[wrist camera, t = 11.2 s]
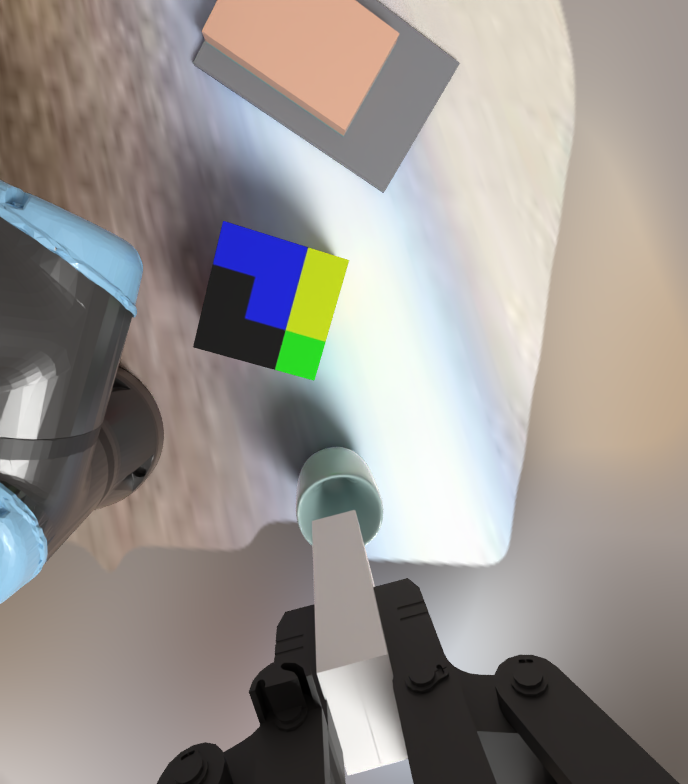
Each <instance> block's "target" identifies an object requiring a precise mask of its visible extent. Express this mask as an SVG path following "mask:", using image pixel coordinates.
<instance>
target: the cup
mask: <svg viewBox="0 0 688 784" xmlns="http://www.w3.org/2000/svg"><path fill="white" fill-rule="evenodd" d="M352 510H355V511H356V515H357V519H358V523H359V527H360V531H361V534H362V538H363V542H364V546H365V545H366V544H367V543H369V542H370V541H371V540H372V539H373V538H374V537H375V536H376V535H377V533H378V531H379V529H380V527H381V524H382V520H383V505H382V500H381V496H380V493H379V490H378V487H377V484H376V482H375V479H374V477H373V474H372V472H371V471H370V469H369V467H368V465H367V463H366V462H365V461H364V460H363V459H362V457H361V456H360V455H358V454H357V453H356V452H355V451H353V450H351V449H348V448H344V447H329V448H325V449H322V450H320V451H318V452H316V453H314V454H313V455H311V456H310V457H309V458H308V459H307V460H306V462H305V463H304V465H303V467H302V469H301V471H300V474H299V478H298V483H297V492H296V516H297V522H298V525H299V528H300V530H301V532H302V534H303V536H304V538H305V539H306V540H307V541H308V542H309V543H310V544H311V545H312V546H313V541H312V521H314V520H318V519H322V518H325V517H329V516H333V515H337V514H341V513H345V512H348V511H352Z"/></svg>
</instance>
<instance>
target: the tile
mask: <svg viewBox="0 0 688 784" xmlns="http://www.w3.org/2000/svg"><path fill="white" fill-rule="evenodd" d="M202 33H203V36H204V38H205V41H206V43H207V44H209V45H210V46H212V47H213V48H215V49H216V50H218V51H219V52H220V53H222V54H223V55H225V56H226V57H228V58H229V59H231V60H232V61H234V62H235V63H236V64H238V65H239V66H241V67H242V68H244V69H245V70H247V71H248V72H250V73H251V74H252V75H254V76H255V77H257V78H258V79H260V80H261V81H263V82H264V83H266V84H267V85H268V86H270V87H271V88H273V89H274V90H276V91H277V92H279V93H280V94H282V95H283V96H284V97H286V98H287V99H289V100H290V101H292V102H293V103H295V104H296V105H298V106H299V107H300V108H302V109H303V110H305V111H306V112H308V113H309V114H311V115H312V116H314V117H315V118H316V119H318V120H319V121H321V122H322V123H324V124H325V125H327V126H328V127H330V128H331V129H332V130H334V131H335V132H337V133H338V134H340V135H341V136H343V137H344V135H345V133H346V131H347V130H348V128H349V126H350V124H351V123H352V121H353V119H354V117H355V115H356V114H357V112H358V110H359V108H360V107H361V105H362V103H363V101H364V100H365V98H366V96H367V94H368V92H369V91H370V89H371V87H372V85H373V84H374V82H375V80H376V78H377V76H378V75H379V73H380V71H381V69H382V68H383V66H384V64H385V62H386V60H387V59H388V57H389V55H390V53H391V52H392V50H393V48H394V46H395V44H396V42H397V39H398V36H399V34H400V33H398V32H397V31H396V30H394V29H393V28H392V27H390V26H389V25H388V24H386V23H385V22H384V21H382V20H381V19H380V18H378V17H377V16H376V15H374V14H373V13H372V12H370V11H369V10H368V9H366V8H365V7H364V6H362V5H361V4H360V3H358V2H357V1H356V0H217V2H216V4H215V6H214V8H213V10H212V12H211V14H210V16H209V18H208V20H207V22H206V24H205V26H204V28H203V30H202Z"/></svg>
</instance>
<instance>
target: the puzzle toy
mask: <svg viewBox="0 0 688 784" xmlns="http://www.w3.org/2000/svg"><path fill="white" fill-rule="evenodd" d="M348 262H349V260H347V259H344V258H341V257H337V256H334V255H331V254H328V253H325V252H321V251H318V250H315V249H312V248H309V247H305V246H302V245H299V244H296V243H293V242H289V241H286V240H283V239H280V238H277V237H273V236H270V235H267V234H264V233H261V232H258V231H254V230H251V229H248V228H245V227H242V226H238V225H235V224H232V223H229V222H226V221H223V223H222V228H221V232H220V236H219V240H218V244H217V249H216V253H215V257H214V261H213V265H212V270H211V274H210V278H209V282H208V287H207V291H206V295H205V299H204V303H203V308H202V312H201V316H200V320H199V325H198V329H197V333H196V337H195V341H194V346H193V347H194V348H198V349H201V350H205V351H209V352H212V353H216V354H220V355H223V356H227V357H231V358H234V359H238V360H241V361H245V362H249V363H252V364H256V365H260V366H263V367H267V368H270V369H274V370H278V371H281V372H285V373H289V374H292V375H296V376H299V377H303V378H307V379H310V380H315V376H316V373H317V370H318V366H319V363H320V359H321V356H322V352H323V349H324V345H325V342H326V338H327V335H328V332H329V328H330V325H331V321H332V318H333V314H334V311H335V307H336V304H337V300H338V297H339V293H340V290H341V287H342V283H343V280H344V276H345V273H346V269H347V266H348Z"/></svg>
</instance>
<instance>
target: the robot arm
mask: <svg viewBox="0 0 688 784" xmlns="http://www.w3.org/2000/svg"><path fill="white" fill-rule="evenodd" d="M142 273H143V265H142V261H141V258H140V256H139V254H138V252H137V251H136V249H135V248H134V247H133V246H132V245H131V244H130V243H128V242H127V241H125V240H124V239H122V238H120V237H118V236H117V235H115V234H113V233H111V232H109V231H107V230H105V229H103V228H101V227H99V226H97V225H95V224H93V223H91V222H89V221H87V220H85V219H83V218H81V217H79V216H77V215H75V214H73V213H71V212H69V211H67V210H65V209H63V208H60V207H58V206H56V205H54V204H52V203H50V202H48V201H45V200H43V199H41V198H39V197H37V196H34V195H32V194H29V193H26V192H24V191H22V190H21V189H19V188H17V187H14V186H12V185H10V184H8V183H5V182H3V181H2V180H0V603H2V602H4V601H5V600H6V599H8V598H9V597H10V596H11V595H12V594H14V593H15V592H16V591H17V590H18V589H20V588H21V587H22V586H23V585H25V584H26V583H28V582H29V581H30V580H31V579H33V578H34V577H35V576H36V575H37V574H38V573H39V572H40V571H41V569H42V566H43V565H44V564H45V563H46V562H47V561H48V559H49V558H50V557H51V556H52V555H53V554H54V553H55V552H56V551H57V550H58V549H59V547H60V546H61V545H62V544H63V543H64V542H65V541H66V540H67V539H68V538H69V536H70V535H71V534H72V533H73V532H74V531H75V530H76V529H77V528H78V527H79V525H80V524H81V523H82V522H83V521H84V520H85V519H86V518H87V517H88V516H89V514H90V513H91V512H92V511H93V510H96V509H100V508H103V507H106V506H109V505H112V504H114V503H117V502H119V501H121V500H123V499H124V498H126V497H127V496H129V495H130V494H132V493H133V492H134V491H136V490H137V489H138V488H139V487H140V486H141V485H142V484H143V482H144V481H145V480H146V479H147V478H148V476H149V475H150V474H151V473H152V471H153V470H154V468H155V466H156V465H157V463H158V460H159V458H160V455H161V452H162V448H163V441H164V429H163V422H162V418H161V415H160V412H159V409H158V407H157V405H156V402H155V401H154V399H153V397H152V396H151V394H150V393H149V391H148V390H147V389H146V388H145V387H144V386H143V384H142V383H141V382H140V381H139V380H137V379H136V378H135V377H134V376H133V375H131V374H130V373H128V372H127V371H125V370H124V369H122V368H120V367H118V366H119V362H120V359H121V355H122V351H123V348H124V344H125V341H126V337H127V333H128V330H129V326H130V322H131V319H132V317H136V314H137V309H136V306H135V304H136V300H137V295H138V291H139V287H140V282H141V278H142ZM312 541H313V573H314V605H310V606H307V607H303V608H299V609H295V610H291V611H288V612H285V614H284V615H283V617H282V619H281V621H280V622H279V624H278V626H277V634H276V645H275V658H274V663H271V664H270V665H268V666H267V667H266V668H264V669H263V670H262V671H260V672H259V674H258V675H257V676H256V678H255V679H254V680H253V682H252V684H251V687H250V690H249V694H250V696H251V699H252V702H253V705H254V708H255V711H256V714H257V717H258V719H259V722H260V727H259V728H258V729H257V730H256V731H255V732H254V733H253V734H252V735H251V736H249V737H248V738H246V739H245V740H244V741H242V742H240V743H239V744H237V745H235V746H234V747H232V748H230V749H228V750H227V751H225V752H223V751H222V750H221V749H220V748H219V747H218V746H217V745H216V744H211V743H201V744H197V745H193V746H191V747H190V748H188V749H186V750H184V751H183V752H181V753H180V754H179V755H177V757H175V758H174V759H173V760H172V761H171V762H170V763H169V764H168V766H167V767H166V769H165V770H164V772H163V773H162V775H161V777H160V778H159V781H158V783H157V784H346V783H345V772H344V764H345V768H346V771H347V774H348V775H352V774H355V773H359V772H362V771H366V770H370V769H374V768H377V767H381V766H384V765H388V764H392V763H395V762H399V761H403V760H406V759H408V760H409V764H410V769H411V774H412V778H413V782H414V784H679V783H678V782H677V781H676V780H675V779H674V778H673V777H672V776H671V775H670V774H669V773H668V772H667V771H665V769H664V768H663V767H661V766H660V765H659V764H658V763H657V762H656V761H655V760H654V759H653V758H652V757H651V756H650V755H649V754H648V753H647V752H646V751H645V750H644V749H643V748H641V746H639V745H638V744H637V743H636V742H635V741H634V740H633V739H632V738H631V737H630V736H629V735H628V734H627V733H626V732H625V731H624V730H623V729H622V728H621V727H619V726H618V725H617V724H616V723H615V722H614V721H613V720H612V719H611V718H610V717H609V716H608V715H607V714H606V713H605V712H604V711H603V710H601V708H599V707H598V706H597V705H596V704H595V703H594V702H593V701H592V700H591V699H590V698H589V697H588V696H587V695H586V694H585V693H584V692H583V691H582V690H581V689H580V688H579V687H578V686H576V685H575V684H574V683H573V682H572V681H571V680H570V679H569V678H568V677H567V676H566V675H565V674H564V673H563V672H562V671H561V670H560V669H559V668H558V667H556V666H555V665H553V664H552V663H551V662H549V661H548V660H546V659H544V658H541V657H538V656H534V655H518V656H514V657H511V658H508V659H507V660H506V661H504V662H503V663H501V664H500V665H499V667H498V669H497V671H496V673H495V675H478V674H470V673H467V672H464V671H461V670H460V669H458V668H456V667H454V666H453V665H452V664H451V663H450V662H449V661H448V660H447V658H446V656H445V654H444V652H443V649H442V647H441V644H440V641H439V639H438V637H437V634H436V631H435V628H434V626H433V623H432V620H431V618H430V615H429V613H428V610H427V607H426V604H425V602H424V599H423V596H422V594H421V591H420V588H419V587H418V586H417V585H415V584H414V583H413V582H412V581H411V580H409V579H408V578H406V579H403V580H399V581H395V582H391V583H388V584H384V585H380V586H376V587H375V585H374V581H373V577H372V573H371V569H370V566H369V561H368V557H367V554H366V550H365V546H364V542H363V538H362V534H361V531H360V527H359V523H358V519H357V515H356V511H355V510H352V511H348V512H345V513H341V514H337V515H333V516H329V517H325V518H322V519H318V520H314V521H312Z"/></svg>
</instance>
